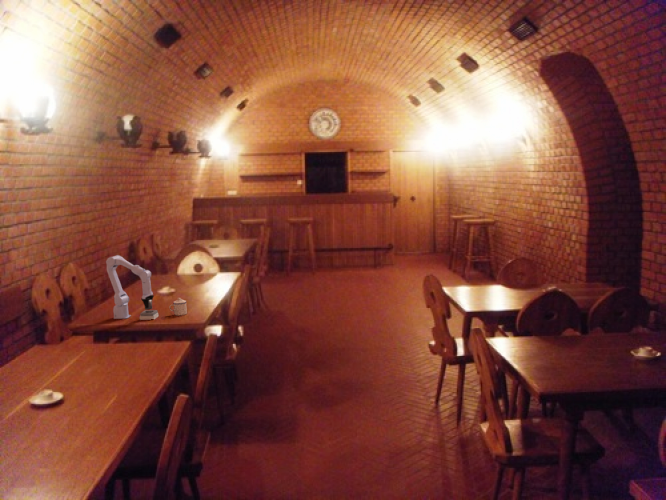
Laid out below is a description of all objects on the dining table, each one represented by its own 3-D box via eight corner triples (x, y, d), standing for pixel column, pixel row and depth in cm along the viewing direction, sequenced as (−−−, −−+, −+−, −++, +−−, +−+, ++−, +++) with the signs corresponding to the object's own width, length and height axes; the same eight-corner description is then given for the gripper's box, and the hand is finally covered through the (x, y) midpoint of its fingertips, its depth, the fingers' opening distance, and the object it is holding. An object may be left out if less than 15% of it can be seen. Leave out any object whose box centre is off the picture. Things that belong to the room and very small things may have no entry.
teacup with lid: (187, 312, 426) (186, 296, 424) (186, 315, 417) (185, 299, 415) (170, 313, 424) (169, 297, 423) (169, 316, 415) (167, 300, 414)
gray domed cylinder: (143, 309, 410) (142, 301, 409) (146, 307, 415) (145, 299, 414) (150, 309, 409) (149, 301, 409) (153, 307, 414) (152, 299, 413)
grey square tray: (139, 319, 409) (139, 313, 408) (144, 316, 418) (144, 310, 417) (153, 319, 408) (153, 313, 408) (158, 316, 417) (158, 309, 417)
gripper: (148, 289, 402) (150, 309, 404) (156, 285, 417) (157, 304, 419) (138, 290, 403) (140, 309, 405) (146, 285, 417) (148, 304, 419)
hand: (148, 306), depth 412 cm, fingers closed on gray domed cylinder, 5 cm apart
